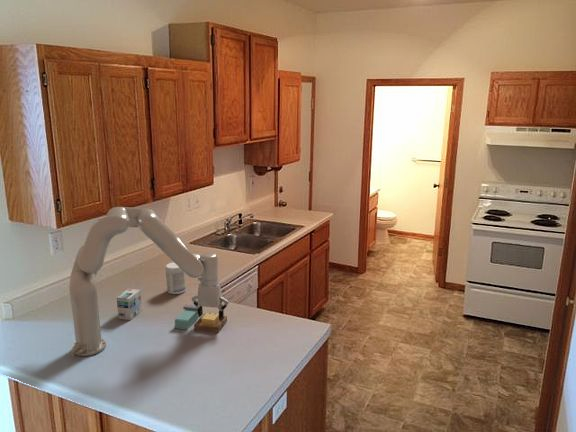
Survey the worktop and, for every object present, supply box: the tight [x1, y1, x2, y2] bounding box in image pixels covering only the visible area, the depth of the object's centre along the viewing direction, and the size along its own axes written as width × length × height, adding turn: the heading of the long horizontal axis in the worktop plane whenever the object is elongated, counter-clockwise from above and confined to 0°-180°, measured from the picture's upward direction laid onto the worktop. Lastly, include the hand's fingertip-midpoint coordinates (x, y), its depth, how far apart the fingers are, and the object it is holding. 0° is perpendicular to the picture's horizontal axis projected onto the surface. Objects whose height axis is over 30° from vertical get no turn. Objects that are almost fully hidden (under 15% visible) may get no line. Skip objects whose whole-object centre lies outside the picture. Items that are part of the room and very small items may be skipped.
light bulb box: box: [116, 288, 143, 321], centre depth 216 cm, size 11×7×11 cm, turn 168°
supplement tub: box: [165, 261, 187, 295], centre depth 242 cm, size 10×10×15 cm
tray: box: [193, 313, 228, 334], centre depth 207 cm, size 11×11×2 cm
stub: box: [201, 312, 219, 327], centre depth 207 cm, size 6×6×4 cm
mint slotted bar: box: [174, 304, 200, 330], centre depth 211 cm, size 16×8×5 cm, turn 168°
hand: (210, 316), depth 207 cm, fingers open, 9 cm apart
